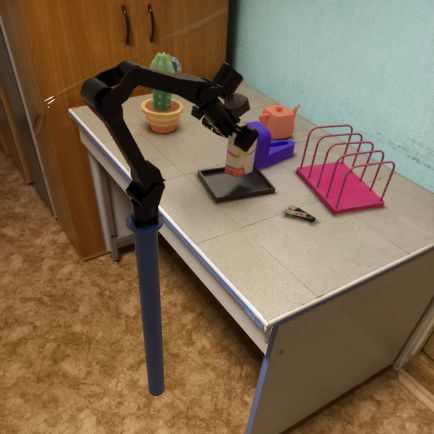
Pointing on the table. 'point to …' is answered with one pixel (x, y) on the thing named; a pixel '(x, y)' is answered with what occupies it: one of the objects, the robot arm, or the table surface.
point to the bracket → (270, 147)
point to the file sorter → (343, 178)
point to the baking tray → (235, 184)
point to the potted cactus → (163, 98)
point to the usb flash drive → (299, 214)
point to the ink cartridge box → (239, 157)
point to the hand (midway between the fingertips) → (242, 143)
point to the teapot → (278, 120)
